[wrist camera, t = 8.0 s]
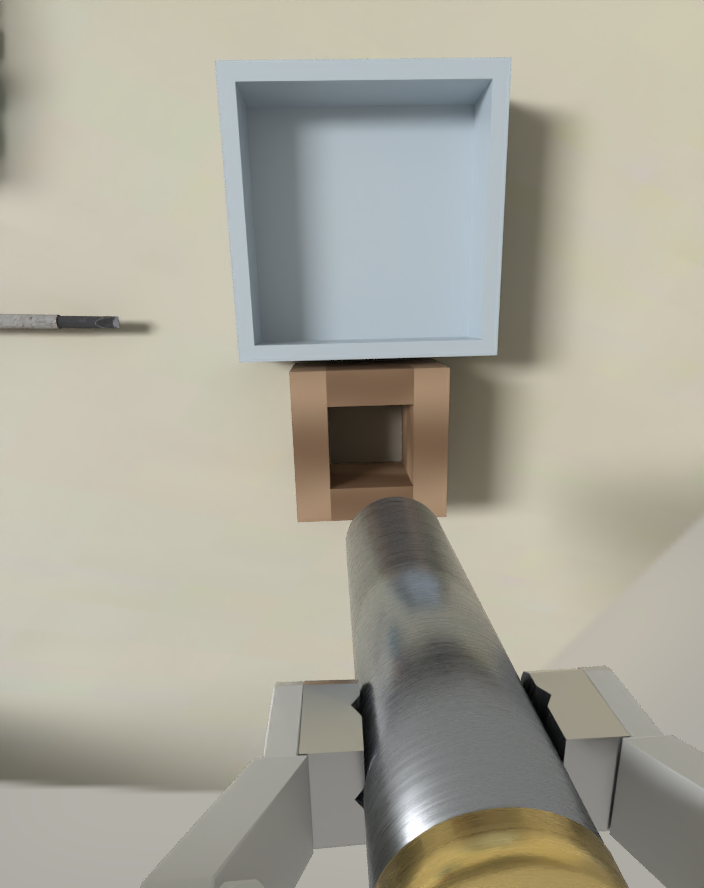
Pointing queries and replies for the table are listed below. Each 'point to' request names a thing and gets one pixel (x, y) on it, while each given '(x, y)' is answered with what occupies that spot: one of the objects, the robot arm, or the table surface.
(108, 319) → the screwdriver
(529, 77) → the table surface
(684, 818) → the robot arm
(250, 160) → the tray
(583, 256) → the table surface
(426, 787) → the pin
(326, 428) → the block
